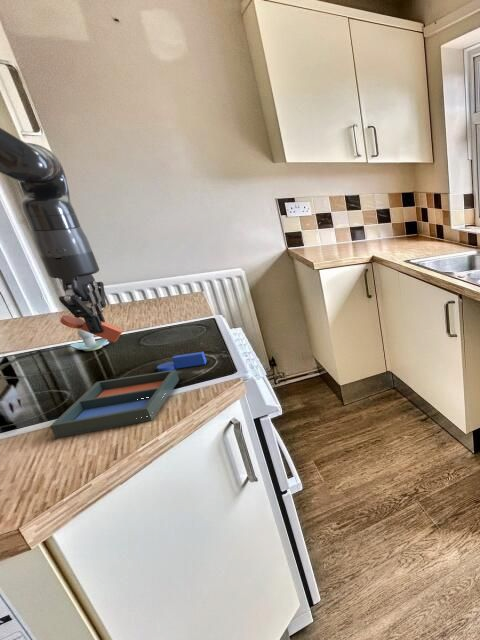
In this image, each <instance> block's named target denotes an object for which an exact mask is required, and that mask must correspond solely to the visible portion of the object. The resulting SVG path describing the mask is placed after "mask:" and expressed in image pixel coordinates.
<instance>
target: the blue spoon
mask: <svg viewBox="0 0 480 640" xmlns="http://www.w3.org/2000/svg"><path fill="white" fill-rule="evenodd" d="M207 362H208V361H207V358H206V355H205V352H204V351H198V352H191V353H183V354H177V355H173V356H172V361H168V362H163V363H161V364H158V365H157V366H156V369H157V372H164V371H170V370H178V369H183V368H184V369H185V368H190V367H196V366H203V365H206V364H207Z"/></svg>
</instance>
